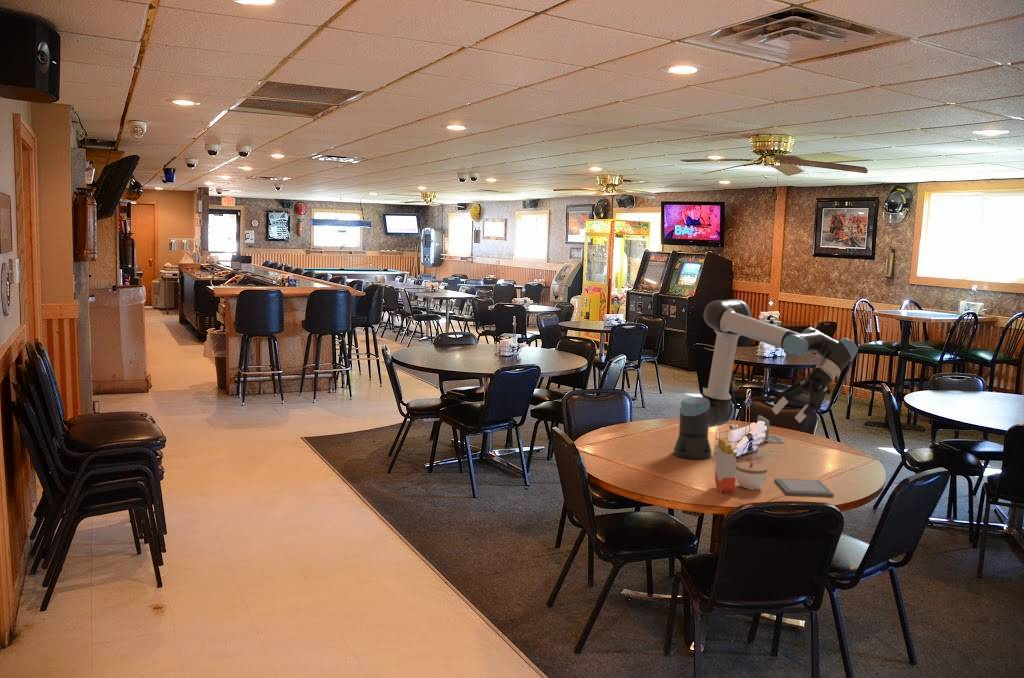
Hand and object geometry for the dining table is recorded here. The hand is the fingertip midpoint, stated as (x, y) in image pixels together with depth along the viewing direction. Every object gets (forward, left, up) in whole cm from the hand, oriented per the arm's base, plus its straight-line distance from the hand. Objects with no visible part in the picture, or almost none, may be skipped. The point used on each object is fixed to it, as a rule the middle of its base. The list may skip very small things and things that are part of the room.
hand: (785, 416), depth 279 cm
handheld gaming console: (+14, +69, -26) cm, 75 cm away
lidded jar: (-12, -4, -26) cm, 29 cm away
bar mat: (+7, -3, -26) cm, 27 cm away
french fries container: (-22, -9, -26) cm, 35 cm away
